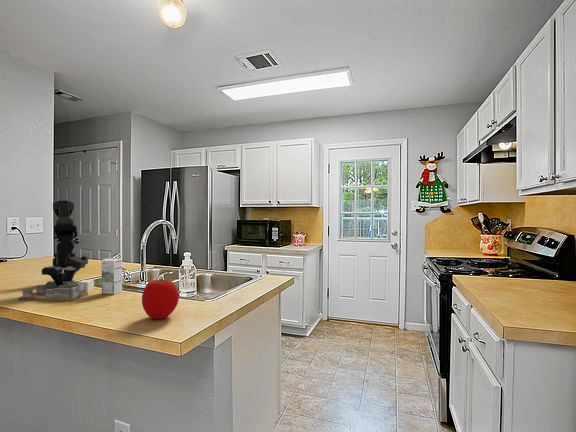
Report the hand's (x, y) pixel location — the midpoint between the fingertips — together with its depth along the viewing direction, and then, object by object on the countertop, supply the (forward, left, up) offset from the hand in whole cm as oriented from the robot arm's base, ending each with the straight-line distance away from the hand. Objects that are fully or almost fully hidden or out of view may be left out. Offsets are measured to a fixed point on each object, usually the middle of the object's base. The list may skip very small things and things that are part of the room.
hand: (64, 287), depth 138 cm
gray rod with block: (0, +2, -1) cm, 3 cm away
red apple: (+33, +55, -2) cm, 64 cm away
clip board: (+10, +4, -1) cm, 11 cm away
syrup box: (+3, +22, -2) cm, 22 cm away
